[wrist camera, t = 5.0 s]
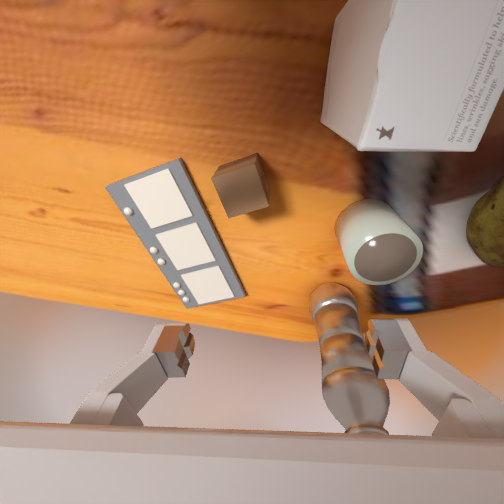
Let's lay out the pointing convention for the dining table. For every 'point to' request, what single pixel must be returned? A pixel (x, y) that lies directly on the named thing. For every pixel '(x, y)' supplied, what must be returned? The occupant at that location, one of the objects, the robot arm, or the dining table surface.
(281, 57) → the dining table surface
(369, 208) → the sage mug
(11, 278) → the dining table surface
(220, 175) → the marker cube
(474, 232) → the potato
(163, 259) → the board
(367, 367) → the plastic bottle
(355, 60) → the skincare box
